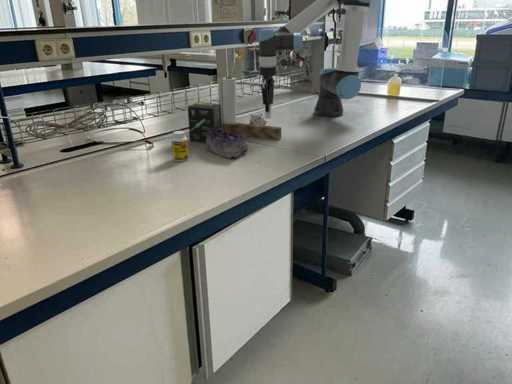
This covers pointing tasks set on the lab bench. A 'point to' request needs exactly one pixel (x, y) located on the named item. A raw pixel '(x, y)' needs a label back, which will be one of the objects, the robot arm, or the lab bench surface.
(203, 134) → the tampon box
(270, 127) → the board
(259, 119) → the game die
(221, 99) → the paper towel roll
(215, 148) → the geode
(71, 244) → the lab bench surface
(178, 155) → the supplement bottle
